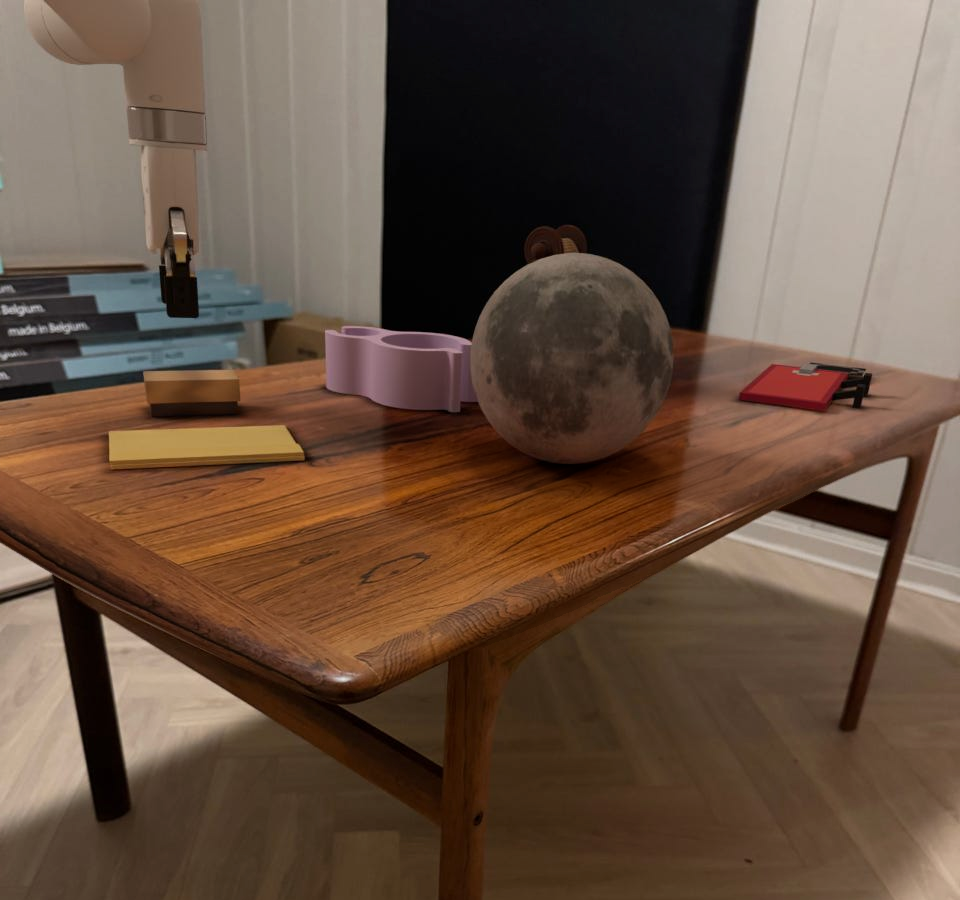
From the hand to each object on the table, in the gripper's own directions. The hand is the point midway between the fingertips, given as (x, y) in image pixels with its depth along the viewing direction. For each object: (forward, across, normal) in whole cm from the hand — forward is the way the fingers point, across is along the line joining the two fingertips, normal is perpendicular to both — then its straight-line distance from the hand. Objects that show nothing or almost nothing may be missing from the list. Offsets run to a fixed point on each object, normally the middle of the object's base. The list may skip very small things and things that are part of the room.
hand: (179, 310), depth 103 cm
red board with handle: (+9, -2, +88) cm, 88 cm away
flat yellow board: (+11, +15, +1) cm, 18 cm away
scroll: (+10, -10, +49) cm, 51 cm away
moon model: (+11, +25, +36) cm, 45 cm away
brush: (+11, 0, +1) cm, 11 cm away
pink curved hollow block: (+11, -5, +27) cm, 29 cm away
